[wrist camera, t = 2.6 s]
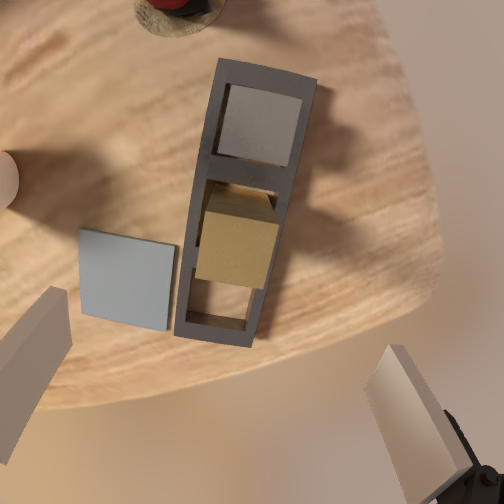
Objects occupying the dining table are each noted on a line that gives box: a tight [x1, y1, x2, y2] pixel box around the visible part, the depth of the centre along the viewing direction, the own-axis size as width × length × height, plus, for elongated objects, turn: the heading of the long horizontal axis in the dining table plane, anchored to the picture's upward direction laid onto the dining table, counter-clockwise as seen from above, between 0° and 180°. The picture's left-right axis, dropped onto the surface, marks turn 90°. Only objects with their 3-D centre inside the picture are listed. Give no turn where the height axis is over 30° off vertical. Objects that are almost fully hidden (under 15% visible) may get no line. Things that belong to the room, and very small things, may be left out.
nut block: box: [195, 184, 279, 289], centre depth 24 cm, size 5×5×9 cm
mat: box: [79, 228, 175, 332], centre depth 30 cm, size 10×10×1 cm
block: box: [217, 85, 302, 166], centre depth 22 cm, size 5×5×7 cm
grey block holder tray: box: [174, 58, 317, 348], centre depth 28 cm, size 26×8×2 cm, turn 168°
